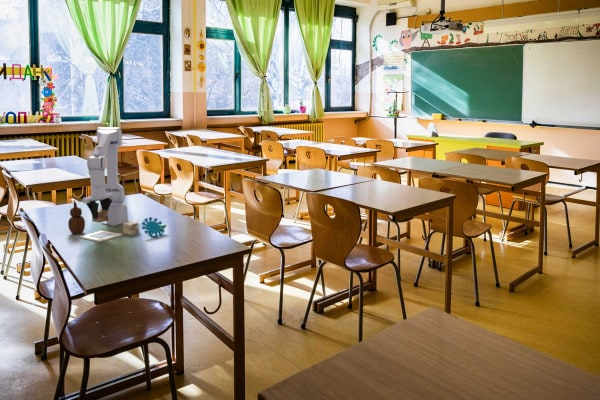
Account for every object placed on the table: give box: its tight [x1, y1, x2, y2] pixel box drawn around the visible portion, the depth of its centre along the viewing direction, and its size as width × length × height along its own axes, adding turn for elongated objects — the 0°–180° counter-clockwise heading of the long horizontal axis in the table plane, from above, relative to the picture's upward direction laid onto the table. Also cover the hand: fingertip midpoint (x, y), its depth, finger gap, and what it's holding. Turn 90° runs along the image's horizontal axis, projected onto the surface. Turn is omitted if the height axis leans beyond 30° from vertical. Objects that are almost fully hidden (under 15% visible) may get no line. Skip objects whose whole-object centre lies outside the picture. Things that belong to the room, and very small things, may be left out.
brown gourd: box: [67, 200, 86, 235], centre depth 238 cm, size 7×6×15 cm
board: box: [79, 229, 123, 243], centre depth 235 cm, size 12×12×1 cm
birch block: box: [122, 220, 140, 236], centre depth 241 cm, size 4×4×4 cm
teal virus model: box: [141, 216, 167, 239], centre depth 238 cm, size 11×6×10 cm
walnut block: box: [91, 208, 108, 224], centre depth 233 cm, size 4×4×4 cm
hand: (100, 217), depth 233 cm, fingers closed on walnut block, 4 cm apart
